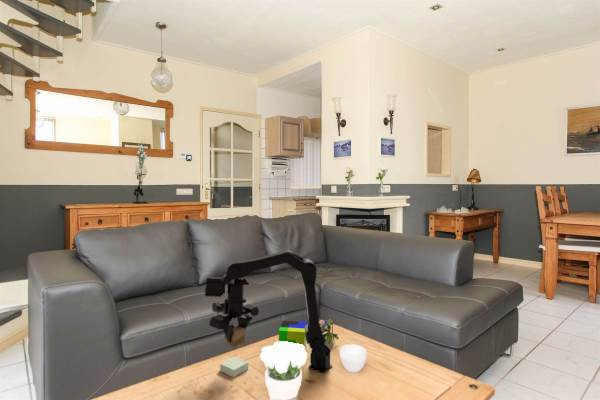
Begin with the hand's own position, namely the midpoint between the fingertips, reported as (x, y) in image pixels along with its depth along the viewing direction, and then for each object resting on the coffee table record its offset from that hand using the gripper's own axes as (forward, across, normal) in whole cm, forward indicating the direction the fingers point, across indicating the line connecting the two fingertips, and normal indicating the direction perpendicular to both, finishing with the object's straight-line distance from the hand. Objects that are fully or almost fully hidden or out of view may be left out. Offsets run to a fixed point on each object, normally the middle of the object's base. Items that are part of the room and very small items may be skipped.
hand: (234, 339), depth 130 cm
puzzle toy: (+11, -25, +7) cm, 28 cm away
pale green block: (+11, 0, 0) cm, 11 cm away
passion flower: (+11, -40, +13) cm, 44 cm away
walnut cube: (+1, 0, 0) cm, 1 cm away
